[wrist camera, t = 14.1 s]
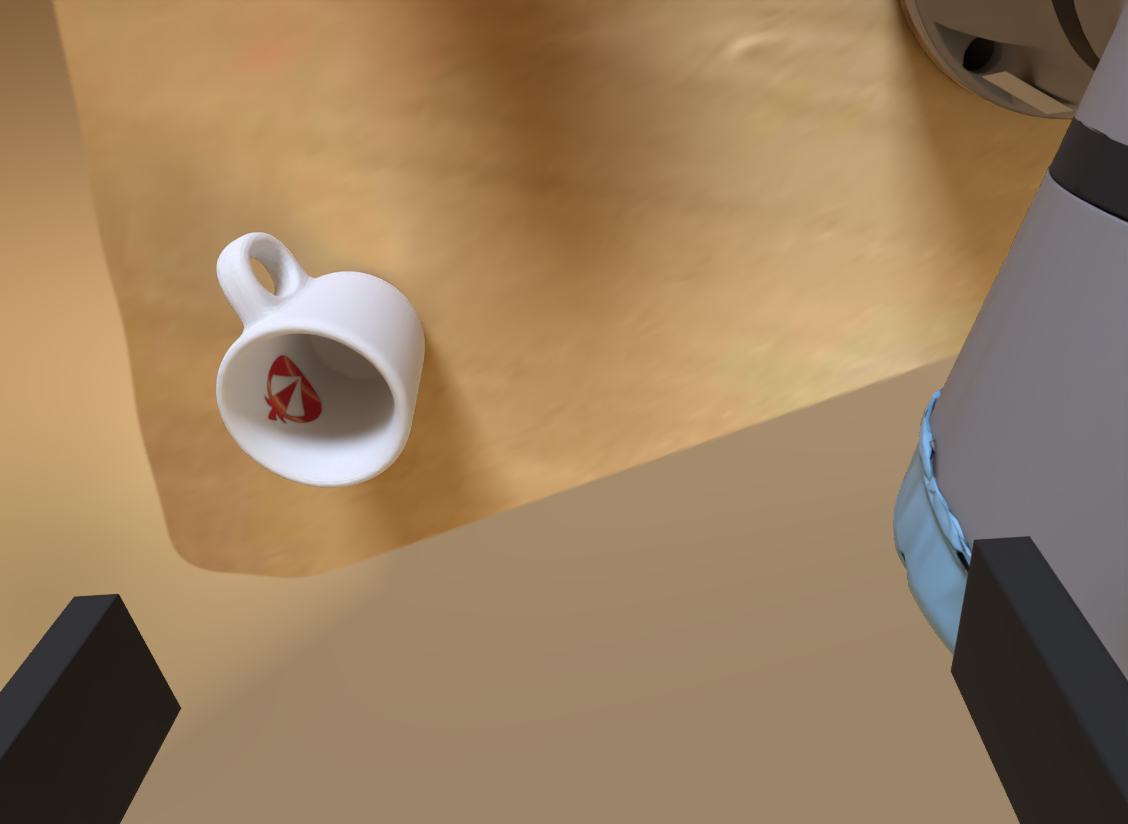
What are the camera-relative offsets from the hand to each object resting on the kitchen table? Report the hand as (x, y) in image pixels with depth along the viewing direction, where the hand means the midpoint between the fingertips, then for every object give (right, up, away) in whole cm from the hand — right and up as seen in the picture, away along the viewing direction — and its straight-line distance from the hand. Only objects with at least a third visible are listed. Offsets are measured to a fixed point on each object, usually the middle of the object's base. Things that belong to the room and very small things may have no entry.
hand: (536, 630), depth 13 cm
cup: (-10, +9, +27) cm, 30 cm away
